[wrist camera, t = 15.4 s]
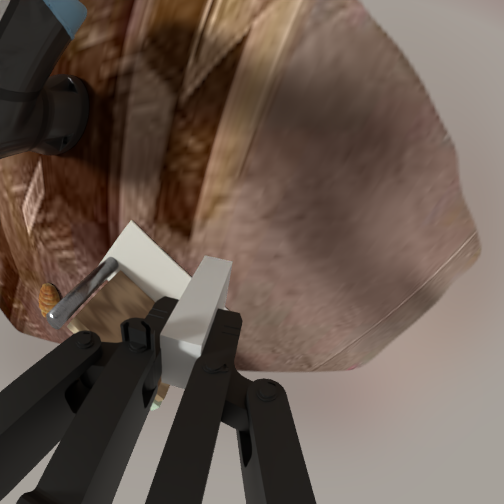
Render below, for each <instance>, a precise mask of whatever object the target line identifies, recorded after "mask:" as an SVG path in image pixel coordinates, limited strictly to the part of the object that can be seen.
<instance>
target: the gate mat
mask: <svg viewBox="0 0 504 504" xmlns="http://www.w3.org/2000/svg"><path fill="white" fill-rule="evenodd" d="M108 257H113V258H115V259H116V260H117V262H118V265H119V266H118V269H117V270H116V271H115V272H114V273H113V274H112V275H111V276H110V277H109V278H108V279H107V280H108V281H110V280H111V279H112V278H113V277H114V276H115V275H116V274H117V273H118V272H119V271H120V270H121V271H122V272H123V273H124V274H125V275H126V276H127V277H129V278H130V279H131V280H132V281H133V282H134V283H135V284H136V285H137V286H138V287H139V288H140V289H141V290H142V291H143V292H145V293H146V294H147V295H148V296H149V297H150V298H151V299H152V300H153V301H154V302H156V301H157V300H159V299H161V298H162V297H164V296H167V297H171V298H174V299H178V300H180V298H181V296H182V294H183V293H184V291H185V289H186V287H187V286H188V284H189V282H190V280H191V279H192V277H191V276H190V275H189V274H188V273H187V272H186V271H185V270H184V269H183V268H181V267H180V266H179V265H178V264H177V263H176V262H175V261H174V260H173V259H172V258H171V257H170V256H169V255H168V254H167V253H165V252H164V251H163V250H162V249H161V248H160V247H159V246H158V245H157V244H156V243H155V242H154V241H153V240H152V239H151V238H150V237H149V236H148V235H147V234H146V233H145V232H144V231H143V230H142V229H141V228H140V227H139V226H138V225H137V224H136V223H135V222H134V221H133V220H131V221H130V222H129V224H128V225H127V226H126V228H125V229H124V230H123V232H122V233H121V235H120V236H119V237H118V239H117V240H116V241H115V243H114V244H113V246H112V247H111V248H110V250H109V251H108V253H107V254H106V256H105V257H104V259H103V260H102V261H101V263H102V262H104V261H105V260H106V259H107V258H108ZM101 263H100V264H101ZM100 264H99V265H100ZM224 310H228V309H227V308H226V307H224ZM228 311H229V310H228Z"/></svg>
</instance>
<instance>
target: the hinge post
mask: <svg viewBox="0 0 504 504" xmlns="http://www.w3.org/2000/svg"><path fill="white" fill-rule="evenodd" d="M118 266H119V265H118V262H117V260H116V259H115V258H113V257H108V258H107V259H106V260H105V261H104V262H102V263H101V264H100V265H99V266H98V267H97V268H96V269H94V270H93V271H92V272H91V273H90V274H89V275H88V276H87V277H85V278H84V279H83V280H82V281H81V282H80V283H79V284H78V285H77V286H76V287H74V288H73V289H72V290H71V291H70V292H69V293H68V294H67V295H66V296H65V297H64V298H63V299H62V300H61V301H60V302H58V303H57V304H56V305H55V306H54V307H53V308H52V309H51V310H50V311H49V312H48V313H47V314H46V318H47V321H48V322H49V324H50V325H51V326H52V327H53V328H55V329H60V328H61V327H62V325H63V324H64V323H65V322H66V321H67V320H68V319H69V318H70V317H71V316H72V315H73V314H74V312H75V311H76V310H77V309H78V308H79V307H80V306H81V305H82V304H83V303H84V302H85V301H86V300H87V299H88V298H89V297H90V296H91V295H92V294H93V293H94V292H95V291H96V290H97V289H98V288H99V287H100V286H101V285H102V284H103V283H104V282H105V281H106V280H107V279H108V278H109V277H110V276H111V275H112V274H113V273H114V272H115V271H116V270H117V269H118Z"/></svg>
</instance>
